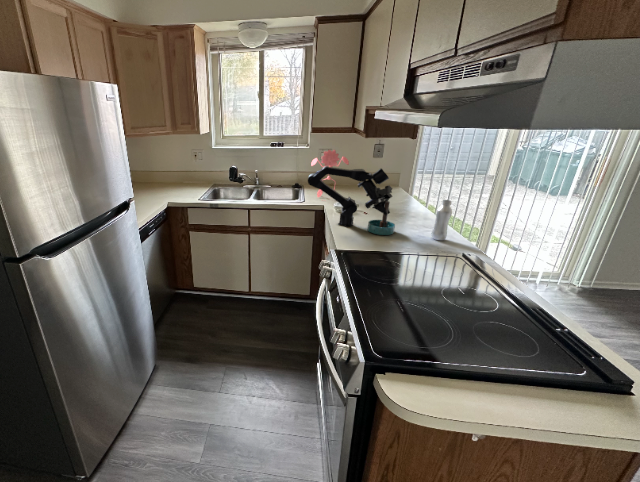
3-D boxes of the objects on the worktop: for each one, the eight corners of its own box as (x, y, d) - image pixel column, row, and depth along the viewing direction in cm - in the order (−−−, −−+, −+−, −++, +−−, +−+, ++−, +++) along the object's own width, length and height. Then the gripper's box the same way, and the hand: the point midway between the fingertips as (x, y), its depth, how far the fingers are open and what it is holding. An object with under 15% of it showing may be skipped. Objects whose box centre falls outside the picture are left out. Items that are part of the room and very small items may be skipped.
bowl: (363, 232, 170) (364, 224, 169) (372, 225, 179) (373, 218, 178) (388, 237, 162) (390, 229, 161) (396, 230, 171) (398, 223, 170)
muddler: (378, 227, 170) (382, 201, 165) (380, 225, 173) (385, 200, 168) (385, 228, 168) (389, 202, 163) (387, 226, 171) (392, 201, 165)
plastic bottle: (440, 242, 156) (450, 203, 148) (427, 238, 161) (436, 200, 154) (448, 240, 158) (458, 201, 151) (435, 236, 164) (444, 198, 157)
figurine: (309, 195, 243) (312, 148, 231) (344, 197, 238) (349, 148, 225) (308, 200, 230) (311, 150, 217) (345, 202, 224) (351, 151, 211)
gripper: (374, 183, 159) (392, 209, 155) (391, 178, 170) (409, 202, 166) (357, 195, 167) (374, 220, 163) (375, 190, 178) (391, 213, 175)
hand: (388, 214), depth 167 cm, fingers closed on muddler, 2 cm apart
